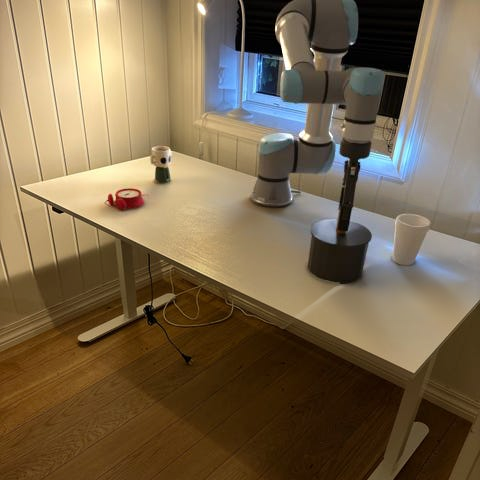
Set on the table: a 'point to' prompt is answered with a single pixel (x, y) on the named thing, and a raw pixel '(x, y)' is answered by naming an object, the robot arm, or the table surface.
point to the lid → (340, 233)
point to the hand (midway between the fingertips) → (342, 219)
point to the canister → (336, 262)
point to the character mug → (161, 162)
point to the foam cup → (409, 237)
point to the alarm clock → (126, 199)
